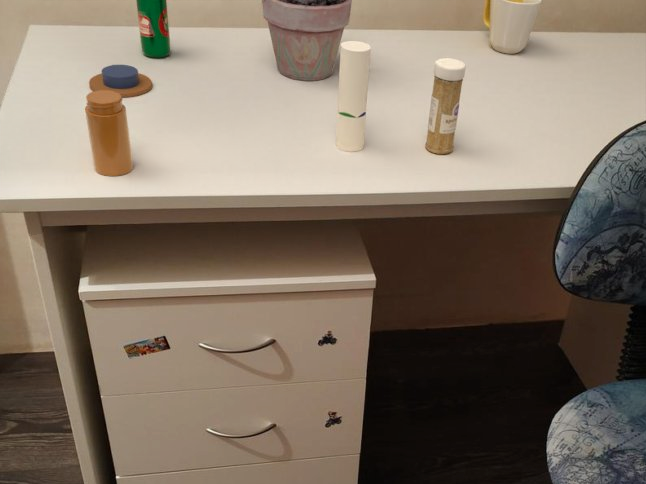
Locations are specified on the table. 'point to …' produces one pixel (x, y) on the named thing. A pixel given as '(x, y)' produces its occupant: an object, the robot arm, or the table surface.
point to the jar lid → (120, 76)
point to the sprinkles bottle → (444, 105)
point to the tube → (352, 95)
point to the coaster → (141, 88)
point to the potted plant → (306, 35)
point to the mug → (510, 23)
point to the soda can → (154, 28)
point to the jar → (108, 133)
